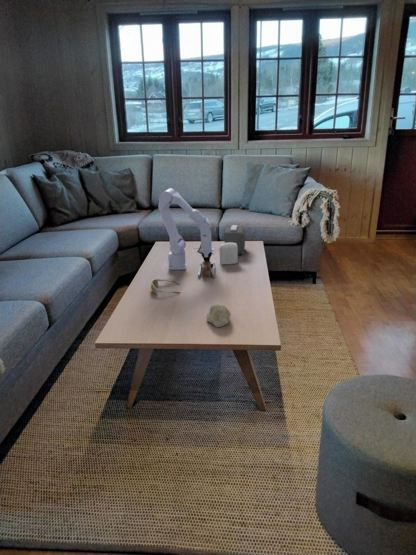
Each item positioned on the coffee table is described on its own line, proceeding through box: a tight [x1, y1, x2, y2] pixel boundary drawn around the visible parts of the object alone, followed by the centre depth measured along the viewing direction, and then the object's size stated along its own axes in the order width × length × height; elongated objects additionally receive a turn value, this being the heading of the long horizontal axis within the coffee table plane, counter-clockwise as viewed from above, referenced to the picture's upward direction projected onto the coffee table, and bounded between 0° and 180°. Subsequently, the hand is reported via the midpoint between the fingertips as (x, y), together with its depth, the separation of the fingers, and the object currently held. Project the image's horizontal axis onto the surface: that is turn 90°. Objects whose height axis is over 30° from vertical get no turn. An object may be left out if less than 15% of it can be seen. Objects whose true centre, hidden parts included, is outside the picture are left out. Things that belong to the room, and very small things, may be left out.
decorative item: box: [206, 304, 231, 328], centre depth 175 cm, size 12×9×10 cm
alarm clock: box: [223, 224, 246, 256], centre depth 253 cm, size 16×11×16 cm
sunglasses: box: [150, 278, 182, 296], centre depth 207 cm, size 14×15×5 cm
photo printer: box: [219, 242, 239, 265], centre depth 235 cm, size 10×4×12 cm, turn 98°
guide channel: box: [197, 262, 216, 279], centre depth 226 cm, size 8×16×2 cm, turn 177°
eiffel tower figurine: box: [193, 244, 214, 256], centre depth 256 cm, size 15×10×13 cm
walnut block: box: [201, 261, 212, 278], centre depth 222 cm, size 4×8×6 cm, turn 177°
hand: (207, 264), depth 230 cm, fingers closed
